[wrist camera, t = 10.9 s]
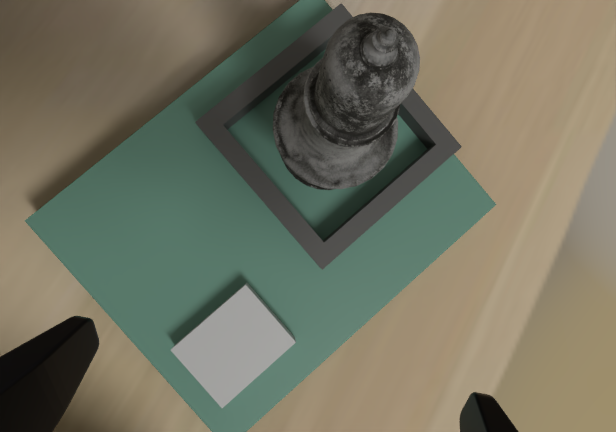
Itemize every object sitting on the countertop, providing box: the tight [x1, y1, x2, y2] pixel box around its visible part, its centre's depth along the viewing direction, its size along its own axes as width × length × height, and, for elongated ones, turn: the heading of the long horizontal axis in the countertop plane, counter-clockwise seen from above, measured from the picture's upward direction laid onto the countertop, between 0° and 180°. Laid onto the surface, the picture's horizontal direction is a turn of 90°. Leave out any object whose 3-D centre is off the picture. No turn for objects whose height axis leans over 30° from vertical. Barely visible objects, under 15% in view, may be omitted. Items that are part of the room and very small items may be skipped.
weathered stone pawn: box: [273, 13, 420, 190], centre depth 15 cm, size 6×6×12 cm
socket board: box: [25, 0, 496, 432], centre depth 21 cm, size 20×16×3 cm
